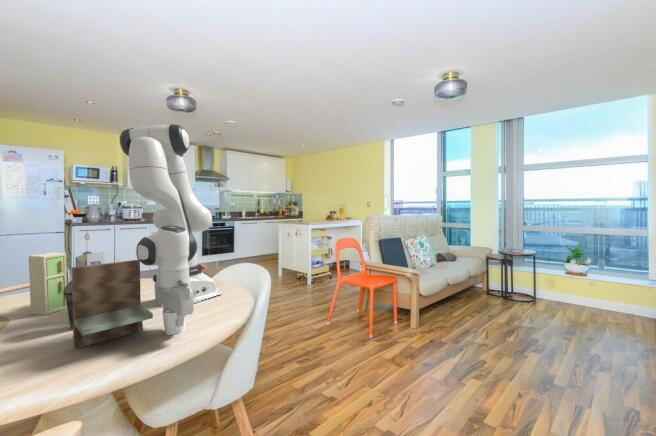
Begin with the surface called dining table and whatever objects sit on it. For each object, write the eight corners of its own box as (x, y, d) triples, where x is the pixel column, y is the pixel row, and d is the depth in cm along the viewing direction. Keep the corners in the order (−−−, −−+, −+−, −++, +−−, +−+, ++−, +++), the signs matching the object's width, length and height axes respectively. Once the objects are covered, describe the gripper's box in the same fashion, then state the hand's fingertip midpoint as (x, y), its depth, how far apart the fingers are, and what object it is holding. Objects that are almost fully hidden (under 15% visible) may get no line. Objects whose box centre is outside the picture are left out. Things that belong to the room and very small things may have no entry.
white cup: (170, 337, 90) (170, 314, 90) (158, 332, 94) (157, 310, 93) (191, 329, 96) (191, 307, 96) (179, 325, 100) (178, 304, 99)
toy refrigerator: (46, 315, 107) (44, 256, 106) (29, 314, 108) (28, 255, 108) (69, 308, 115) (68, 253, 114) (54, 306, 116) (52, 252, 115)
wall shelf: (138, 329, 96) (137, 259, 95) (153, 340, 88) (151, 264, 87) (73, 346, 84) (71, 267, 83) (83, 361, 76) (81, 273, 75)
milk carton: (87, 303, 120) (86, 253, 120) (75, 301, 122) (74, 252, 122) (105, 298, 127) (104, 250, 126) (94, 297, 129) (93, 250, 128)
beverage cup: (75, 322, 101) (74, 262, 100) (99, 322, 102) (97, 262, 101) (58, 331, 94) (56, 267, 93) (83, 331, 94) (81, 267, 93)
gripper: (199, 282, 90) (199, 328, 90) (171, 272, 103) (171, 312, 104) (177, 286, 85) (177, 335, 85) (150, 275, 98) (151, 317, 99)
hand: (174, 322), depth 95 cm, fingers open, 7 cm apart
